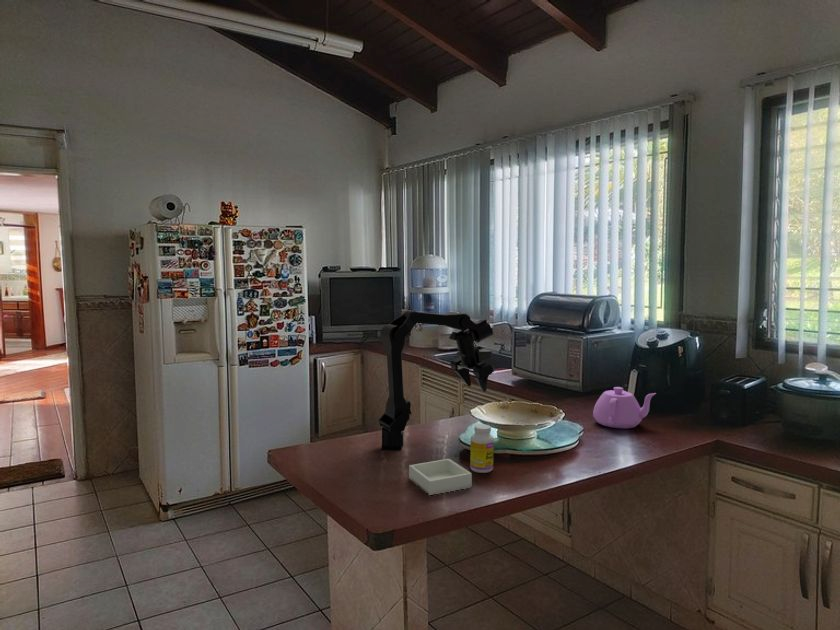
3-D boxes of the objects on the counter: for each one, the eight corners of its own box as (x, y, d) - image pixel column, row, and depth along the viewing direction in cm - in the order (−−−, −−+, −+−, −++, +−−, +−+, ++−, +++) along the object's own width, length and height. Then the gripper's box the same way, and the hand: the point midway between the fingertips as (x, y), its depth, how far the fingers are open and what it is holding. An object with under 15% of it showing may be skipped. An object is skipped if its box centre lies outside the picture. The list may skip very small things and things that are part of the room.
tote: (409, 479, 162) (409, 465, 161) (448, 472, 167) (448, 458, 167) (429, 496, 150) (429, 481, 150) (471, 487, 156) (471, 473, 155)
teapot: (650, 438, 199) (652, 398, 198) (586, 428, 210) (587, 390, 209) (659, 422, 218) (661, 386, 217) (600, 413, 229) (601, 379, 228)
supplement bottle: (487, 475, 165) (487, 431, 163) (466, 470, 168) (466, 427, 167) (496, 468, 170) (497, 425, 169) (476, 463, 174) (477, 421, 173)
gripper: (501, 342, 194) (511, 384, 198) (469, 335, 210) (480, 374, 214) (474, 355, 189) (485, 398, 193) (444, 347, 206) (455, 386, 209)
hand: (477, 388), depth 203 cm, fingers open, 9 cm apart
